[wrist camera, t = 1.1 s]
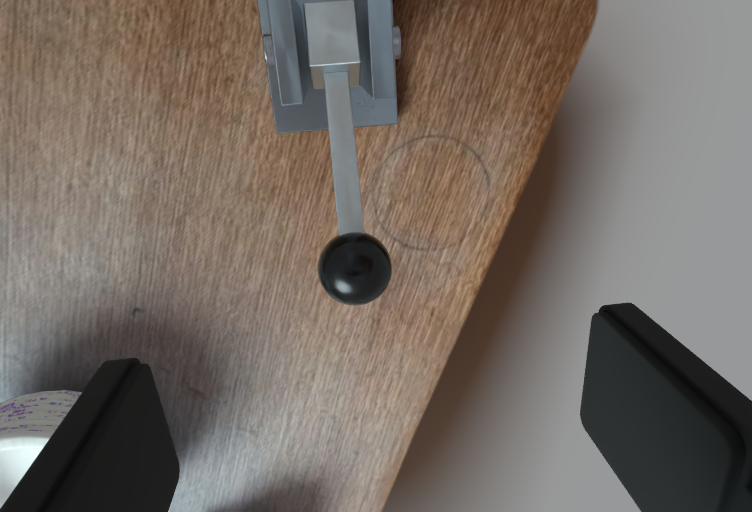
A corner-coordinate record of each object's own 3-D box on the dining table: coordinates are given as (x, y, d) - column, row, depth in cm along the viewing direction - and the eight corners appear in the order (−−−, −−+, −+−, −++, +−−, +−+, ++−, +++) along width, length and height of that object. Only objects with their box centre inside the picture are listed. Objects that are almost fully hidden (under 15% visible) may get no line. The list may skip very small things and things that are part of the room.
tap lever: (391, 301, 23) (399, 302, 20) (323, 308, 23) (319, 310, 19) (363, 33, 24) (366, -8, 21) (297, 37, 23) (290, -3, 20)
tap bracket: (395, 121, 33) (430, 158, 23) (277, 130, 33) (255, 173, 22) (388, -50, 29) (426, -104, 19) (253, -42, 29) (211, -93, 18)
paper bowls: (221, 423, 42) (200, 503, 35) (125, 526, 46) (88, 617, 38) (50, 329, 37) (-17, 399, 30) (-43, 453, 40) (-123, 543, 33)
